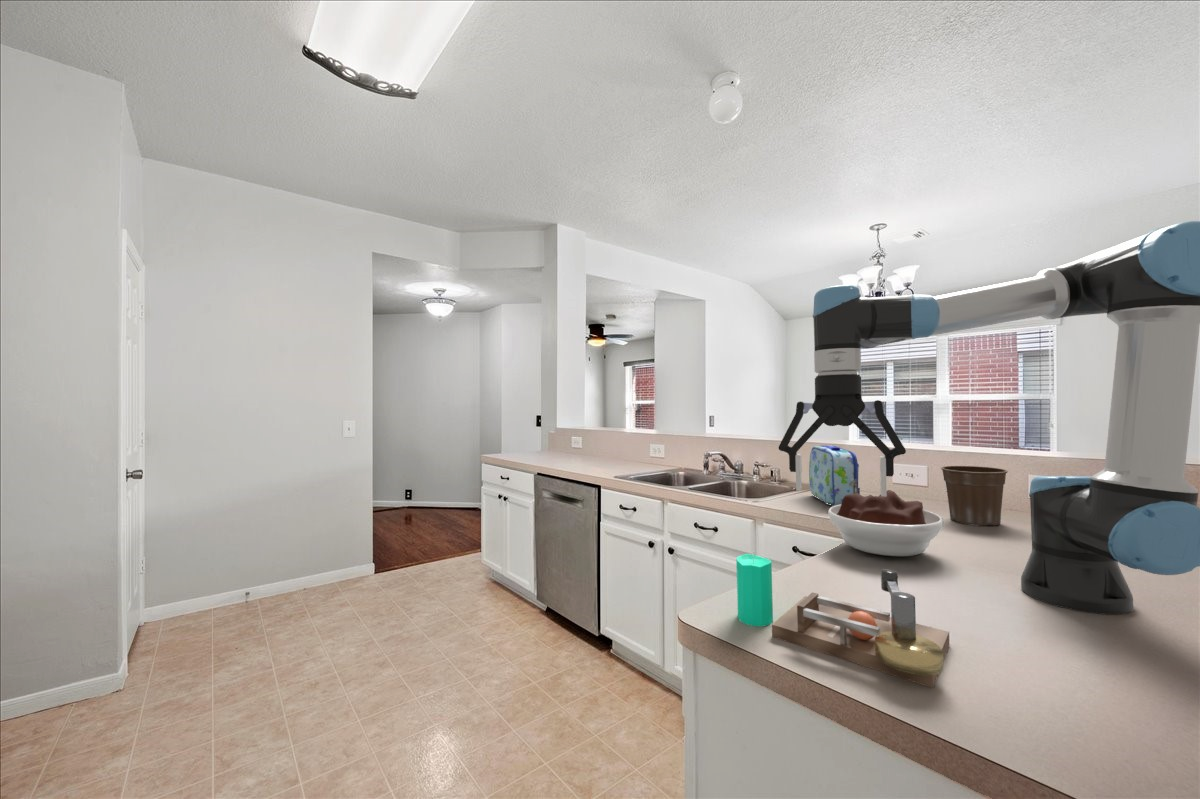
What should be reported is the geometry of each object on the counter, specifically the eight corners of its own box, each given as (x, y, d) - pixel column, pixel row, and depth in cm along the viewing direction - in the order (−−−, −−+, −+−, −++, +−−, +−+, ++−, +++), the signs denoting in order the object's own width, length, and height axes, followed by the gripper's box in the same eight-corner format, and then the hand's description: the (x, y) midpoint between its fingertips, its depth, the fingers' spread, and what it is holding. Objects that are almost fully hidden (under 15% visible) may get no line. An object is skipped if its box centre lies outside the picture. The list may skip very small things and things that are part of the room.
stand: (949, 644, 76) (948, 606, 76) (932, 687, 65) (931, 642, 65) (805, 606, 91) (804, 574, 91) (772, 636, 80) (771, 600, 80)
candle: (732, 612, 89) (731, 547, 89) (764, 610, 90) (762, 545, 90) (745, 627, 83) (743, 557, 83) (779, 625, 84) (777, 555, 84)
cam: (958, 628, 76) (957, 579, 76) (938, 682, 62) (936, 622, 62) (884, 610, 83) (882, 565, 83) (850, 655, 69) (849, 601, 69)
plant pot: (942, 513, 159) (941, 463, 159) (1006, 519, 150) (1005, 466, 150) (941, 523, 146) (940, 470, 146) (1011, 531, 137) (1010, 473, 137)
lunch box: (864, 509, 167) (862, 448, 167) (831, 509, 168) (830, 449, 168) (835, 495, 193) (833, 442, 193) (807, 495, 194) (805, 442, 194)
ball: (880, 637, 74) (879, 611, 74) (873, 647, 71) (872, 620, 71) (852, 629, 77) (851, 604, 77) (844, 639, 74) (843, 613, 74)
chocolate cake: (942, 575, 105) (940, 505, 105) (818, 555, 120) (816, 494, 120) (946, 546, 125) (944, 487, 125) (839, 532, 140) (838, 479, 140)
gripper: (761, 376, 90) (764, 491, 90) (923, 369, 78) (925, 501, 78) (767, 377, 96) (769, 484, 96) (917, 372, 85) (919, 493, 85)
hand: (839, 492), depth 87 cm, fingers open, 13 cm apart
